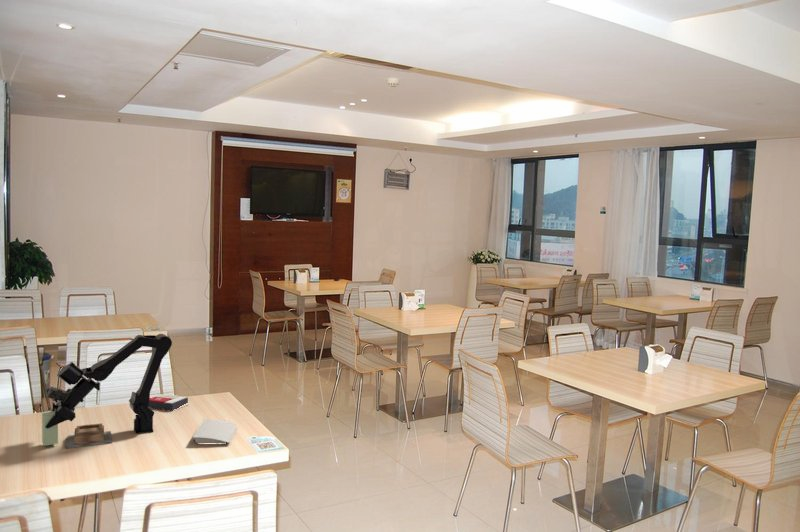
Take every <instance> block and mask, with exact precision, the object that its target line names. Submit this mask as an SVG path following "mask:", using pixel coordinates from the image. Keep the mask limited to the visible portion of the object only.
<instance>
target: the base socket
mask: <svg viewBox="0 0 800 532" xmlns="http://www.w3.org/2000/svg"><path fill="white" fill-rule="evenodd" d="M112 443H113V442H112V431H111V430H109V431H108V430H107V431H105V425H104V424H103V423H102V422H101V423H94V424H93V423H92V424H84V425H76V427H75V428H74V433H73V435H72V434H71V435H67V438H66V446H65V448H66V449H72V448H80V447H88V446H89V447H90V446H91V447H92V446H97V445H105V444H112Z"/></svg>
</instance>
